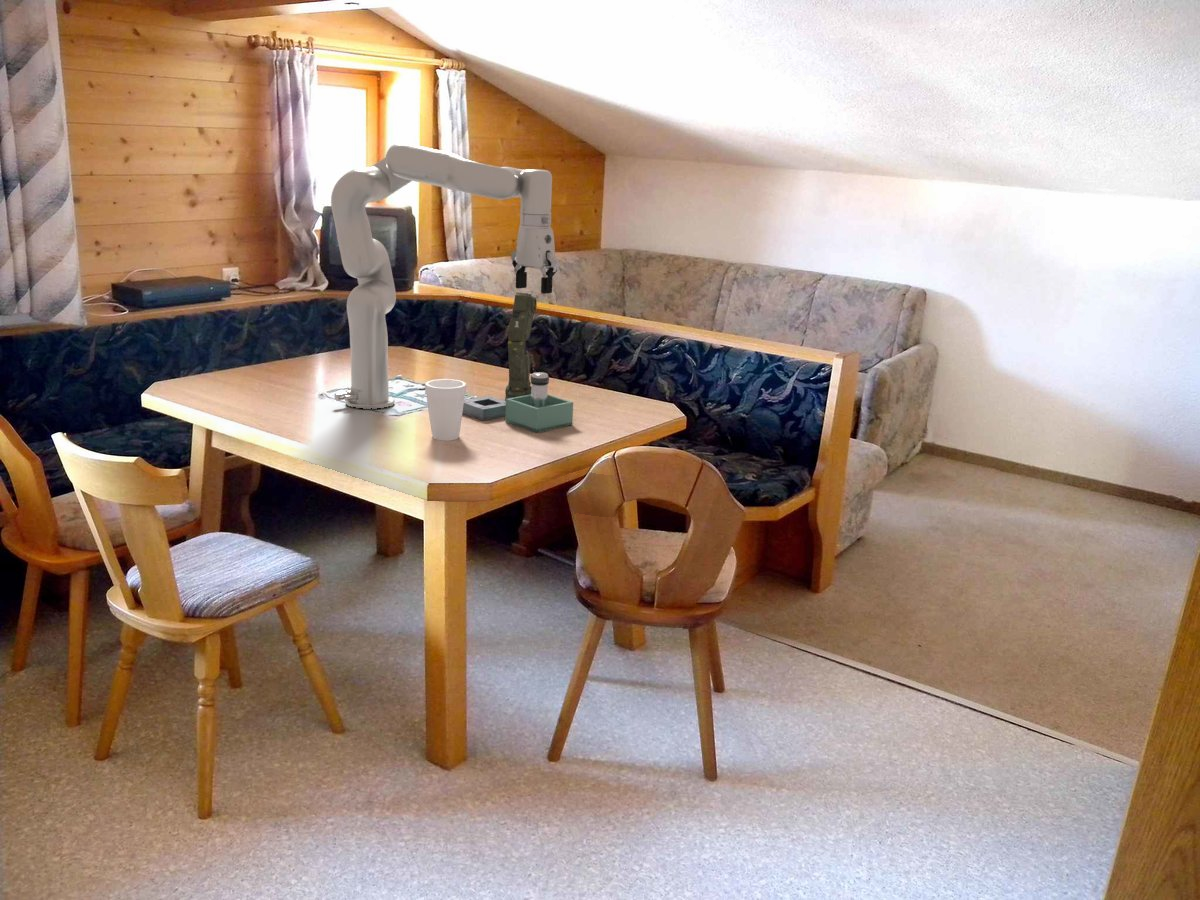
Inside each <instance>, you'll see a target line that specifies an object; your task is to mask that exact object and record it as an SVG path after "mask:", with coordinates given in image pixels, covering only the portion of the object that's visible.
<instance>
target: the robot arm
mask: <svg viewBox="0 0 1200 900" xmlns="http://www.w3.org/2000/svg"><path fill="white" fill-rule="evenodd" d="M412 182H417V183H422V184H426V185H427V184H428V185H432V186H434V187H440V188H443V189H444V188H445V189H449V190H452V191H459V192H463V193H466V194H471V195H475V196H478V197H479V196H480V197H484V198H489V199H493V200H499V201H500V200H501V201H504V200H507V199H512V198H514V199H515V198H520V214H519V215H520V220H519V221H520V223H519V228H518V233H517V240H516V250H514V251H512V252H511V253H510V259H511V262H512V263H511V264H512V266H513V268H514V269H513V270H514V272H515V288H516V289H526V288H527V287H528V286H527V285H528V284H527V283H528V272H527V271H526V270H527V268H532V269H537V270H540V272H541V274H542V276H541V280H540V292H541V294H542V295H543V294H544V295H546V294H552V292H553V278H555V275H556V273H557V271H558V268H559V267H560V266H559V265H560V263H561V262H560V260H559V259H558V258H557V257H556V251H555V235H554V229H553V228H552V227H551V225H552V198H553V197H552V194H553V193H552V191H553V175H552V173H551V171H549V170H546V169H537V168H536V169H535V168H534V169H533V168H532V169H530V168H528V169H523V168H522V169H521V168H516V167H511V166H494V165H491V164H487V163H486V164H485V163H480V162H476V161H472V160H469V159H465V158H464V157H462V156H460V155H458V154H456V153H453V152H449V151H444V150H440V149H434V148H429V147H426V146H420V145H419V144H416V143H414V142H397V143H394V144H393V145H391V146H390V147H389V148H388V150H387V151H386V154H385V157H383V158H382V159H381V160H379V161H378V162H376V163H374V164H373V165H371V166H370V167H369V166H368V167H359V168H354V169H352V170H350V171H348V172H346V173H345V174H343V175H342V176H341V177H340V178H339V179H338V181H337V182H336V183H335V184H334V187H333V189H332V192H331V196H330V198H331V199H330V203H331V204H330V206H331V212H332V217H333V220H334V221H333V222H334V226H335V231H336V237H337V243H338V248H339V253H340V258H341V263H342V266H343V270H344V271H345V273H346V274H347V275H348V276H350V277H352V278H354V279H357V284H358V285H357V286H355V287H353V289H352V290H351V291H350V293H349V295H348V296H347V301H346V315H347V320H348V326H349V328H348V329H349V346H350V348H349V349H350V375H351V376H350V381H351V383H350V384H351V386H347V390H346V391H344V392H336V393H334V399H335V401H336V402H337V401H343V400H344V401H345V405H346V404H347V405H346V406H348V407H350V406H351V407H350V408H353V407H356V408H355V409H358V408H363V409H362V410H378V409H377V408H381V409H385V408H384V407H387V408H389V407H388V406H390V407H392V406H394V405H395V404H394V403H396V400H395V397H392V396H390V395H389V393H390V392H389V346H388V345H389V341H388V339H389V338H388V336H389V335H388V327H387V321H386V315H387V314H388V313H390V312H391V311H392V309H393V308H394V307H395V304H396V301H397V293H396V286H395V281H394V276H393V270H392V266H391V261H390V256H389V253H388V250H387V248H386V247H385V246H384V244H383V243H382V242H381V241H379V240H377V239H375V238H373V235H372V229H371V223H370V219H369V217H368V214H367V210H366V207H367V204H369V203H374V202H375V203H376V202H380V201H383V200H384V199H386V198H388V197H390V196H391V195H393V194H395V193H396V192H398V191H399V190H400V189H402V188H403V187H405V186H407V185H409V184H410V183H412ZM393 404H394V405H393ZM371 408H372V409H371Z"/></svg>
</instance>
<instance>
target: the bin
mask: <svg viewBox="0 0 1200 900" xmlns="http://www.w3.org/2000/svg"><path fill="white" fill-rule="evenodd" d="M573 416H574V401H570V400H568V399H564V398H561V397H558V396H555V395H551V394H548V393H547V406H545V407H540V408H536V407H533V406H531V395H525V396H520V397H514V398H508V399H506V416H505V418H504V419H505V423H508V424H511V425H513V426H515V427H516V426H517V427H519V428H522V429H525V430H528V431H531V432H534V433H542V432H547V431H550V430H551V429H552V430H556V429H560V428H559V427H561V428H564V426H566V427H570V426H573V420H574V419H573ZM569 425H570V426H569ZM555 428H556V429H555ZM552 430H551V431H552Z"/></svg>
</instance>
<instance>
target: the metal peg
mask: <svg viewBox="0 0 1200 900" xmlns="http://www.w3.org/2000/svg"><path fill="white" fill-rule="evenodd" d="M530 383H531V387H532V392H531V406H533V407H536V408H540V407H545V406H547V394H548V387H549V386H548V385H549V383H550V376H549V374H548V373H546V372H540V371H539V372H533V373H531V375H530Z"/></svg>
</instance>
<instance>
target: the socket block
mask: <svg viewBox="0 0 1200 900" xmlns="http://www.w3.org/2000/svg"><path fill="white" fill-rule="evenodd" d="M462 415H466V416H468V417H470V418H474V419H477V420H480V421H482V422H484V421H491V420H494V419H498V418H499V419H501V418H506V401H505V399H504V400H503V399H501V398H498V397H495V396H491V395H487V396H482V397H477V398H470V399H464V405H463V413H462Z"/></svg>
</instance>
